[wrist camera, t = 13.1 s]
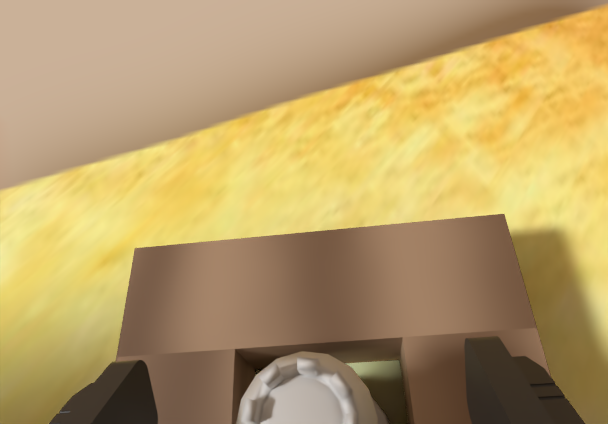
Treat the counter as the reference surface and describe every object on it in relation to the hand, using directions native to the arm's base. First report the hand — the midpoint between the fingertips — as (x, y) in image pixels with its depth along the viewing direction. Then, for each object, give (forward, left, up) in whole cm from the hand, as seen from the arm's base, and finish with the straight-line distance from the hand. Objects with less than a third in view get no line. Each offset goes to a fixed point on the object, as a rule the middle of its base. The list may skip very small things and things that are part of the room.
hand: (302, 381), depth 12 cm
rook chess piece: (0, -1, -7) cm, 7 cm away
